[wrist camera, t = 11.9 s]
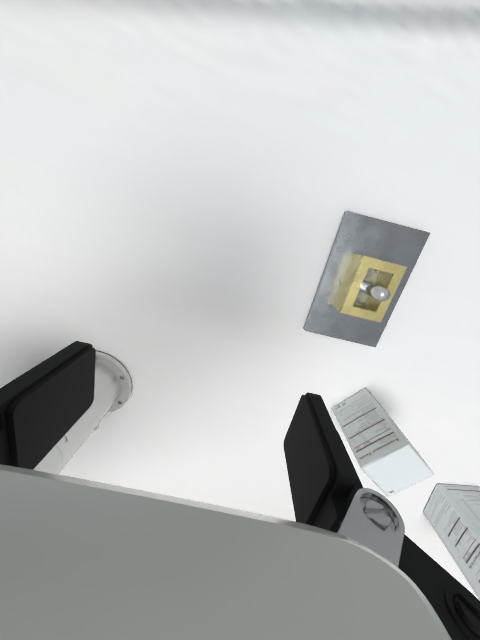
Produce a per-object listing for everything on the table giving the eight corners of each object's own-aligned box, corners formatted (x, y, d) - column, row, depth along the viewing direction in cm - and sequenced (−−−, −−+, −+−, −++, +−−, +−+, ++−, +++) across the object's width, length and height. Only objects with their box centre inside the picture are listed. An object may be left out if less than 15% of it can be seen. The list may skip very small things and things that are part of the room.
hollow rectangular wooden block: (369, 314, 38) (380, 322, 34) (332, 305, 37) (340, 312, 34) (392, 263, 35) (407, 267, 32) (352, 253, 35) (363, 255, 31)
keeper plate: (372, 344, 40) (396, 366, 34) (303, 328, 40) (314, 347, 33) (425, 233, 34) (467, 232, 28) (344, 211, 34) (368, 206, 27)
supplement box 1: (386, 412, 45) (436, 476, 33) (351, 431, 47) (387, 499, 35) (365, 385, 43) (410, 444, 31) (330, 407, 45) (359, 470, 33)
